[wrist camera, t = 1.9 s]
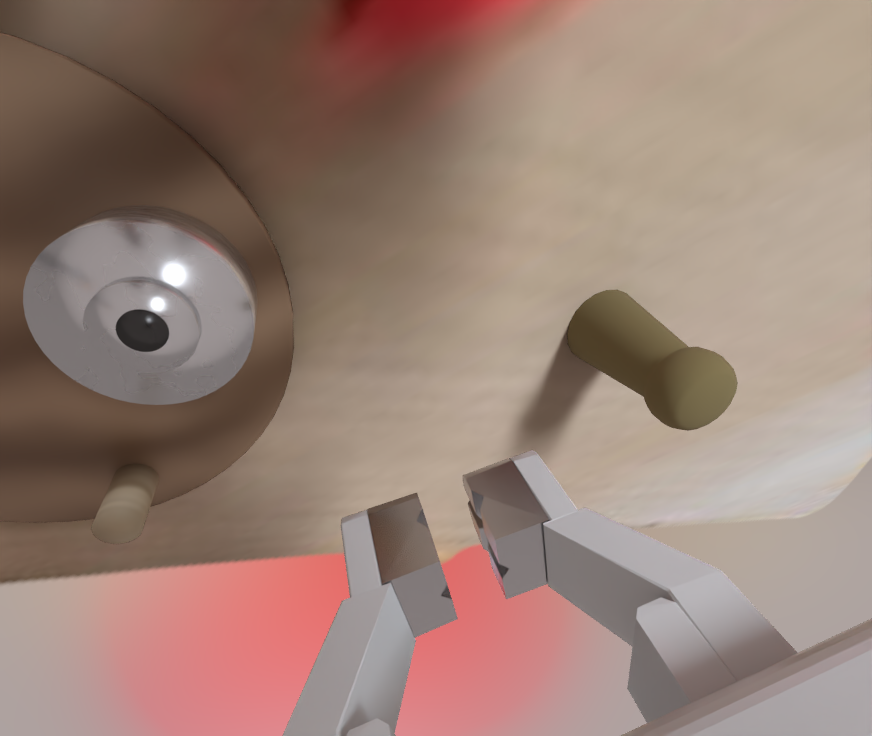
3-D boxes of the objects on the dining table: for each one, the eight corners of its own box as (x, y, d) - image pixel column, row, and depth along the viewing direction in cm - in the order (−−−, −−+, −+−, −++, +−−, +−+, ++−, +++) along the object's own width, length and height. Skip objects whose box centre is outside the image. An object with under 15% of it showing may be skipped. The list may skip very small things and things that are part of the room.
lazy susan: (-650, 95, 15) (-1059, 94, 10) (158, -48, 18) (117, -96, 14) (-44, 556, 29) (-104, 641, 25) (346, 426, 33) (356, 479, 28)
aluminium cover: (11, 233, 20) (-48, 263, 17) (212, 183, 22) (197, 201, 18) (124, 390, 25) (97, 439, 22) (282, 342, 27) (282, 381, 23)
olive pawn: (575, 372, 37) (670, 461, 28) (559, 313, 34) (661, 392, 25) (640, 338, 37) (755, 415, 28) (630, 275, 34) (758, 340, 25)
